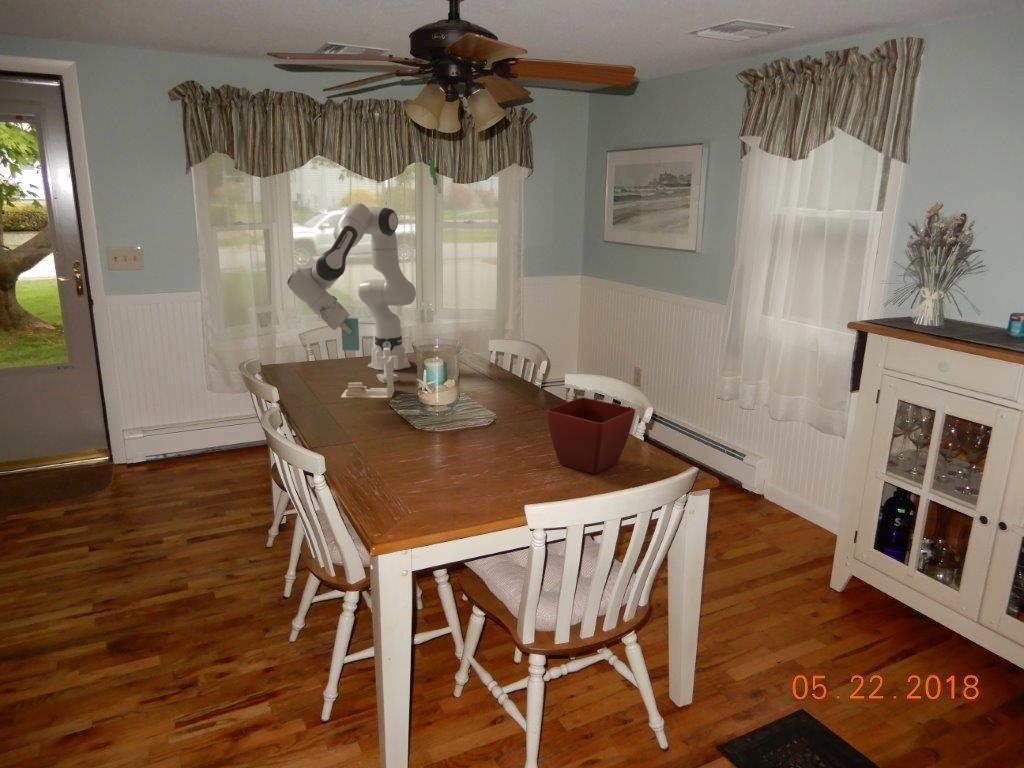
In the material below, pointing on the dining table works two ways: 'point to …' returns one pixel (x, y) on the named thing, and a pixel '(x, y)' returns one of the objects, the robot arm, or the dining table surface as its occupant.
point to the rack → (381, 391)
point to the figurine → (383, 361)
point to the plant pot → (589, 433)
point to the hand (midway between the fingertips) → (351, 331)
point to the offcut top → (355, 386)
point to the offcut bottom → (357, 392)
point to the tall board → (351, 335)
